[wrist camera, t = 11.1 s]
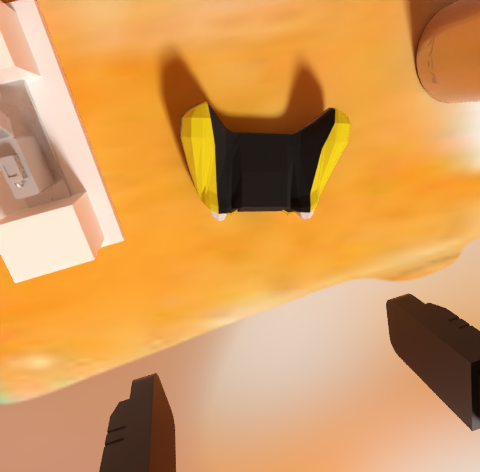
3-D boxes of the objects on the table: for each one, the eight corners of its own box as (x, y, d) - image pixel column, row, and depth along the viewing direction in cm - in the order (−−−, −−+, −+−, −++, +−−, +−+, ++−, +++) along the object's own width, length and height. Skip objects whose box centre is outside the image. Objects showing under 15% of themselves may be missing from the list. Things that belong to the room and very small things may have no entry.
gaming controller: (177, 102, 33) (179, 211, 36) (181, 98, 28) (182, 226, 31) (333, 110, 36) (322, 209, 39) (362, 107, 31) (347, 223, 34)
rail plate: (37, 2, 28) (32, -3, 27) (125, 236, 35) (124, 240, 34) (-85, 27, 27) (-95, 23, 26) (29, 264, 34) (25, 269, 33)
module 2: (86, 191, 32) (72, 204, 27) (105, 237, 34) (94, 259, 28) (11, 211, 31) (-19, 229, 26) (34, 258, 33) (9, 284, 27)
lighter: (55, 184, 31) (22, 203, 23) (34, 190, 31) (-6, 211, 23) (18, 96, 28) (-32, 87, 21) (-5, 101, 28) (-64, 94, 21)
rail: (-3, 12, 27) (-7, 10, 27) (92, 244, 34) (91, 246, 33) (-52, 23, 27) (-57, 20, 26) (53, 255, 33) (51, 258, 32)
